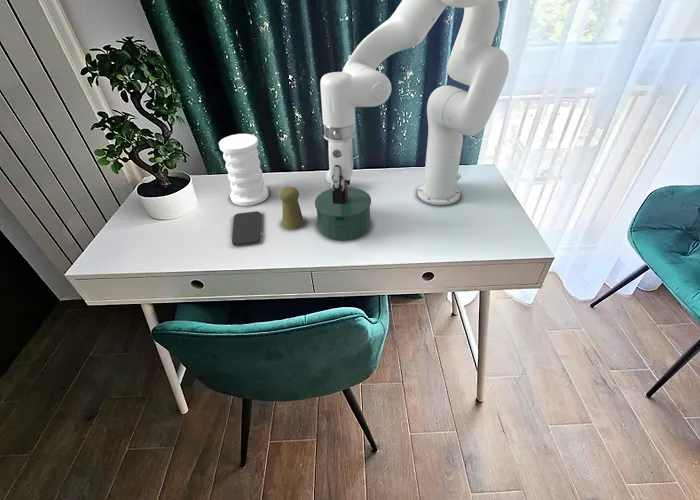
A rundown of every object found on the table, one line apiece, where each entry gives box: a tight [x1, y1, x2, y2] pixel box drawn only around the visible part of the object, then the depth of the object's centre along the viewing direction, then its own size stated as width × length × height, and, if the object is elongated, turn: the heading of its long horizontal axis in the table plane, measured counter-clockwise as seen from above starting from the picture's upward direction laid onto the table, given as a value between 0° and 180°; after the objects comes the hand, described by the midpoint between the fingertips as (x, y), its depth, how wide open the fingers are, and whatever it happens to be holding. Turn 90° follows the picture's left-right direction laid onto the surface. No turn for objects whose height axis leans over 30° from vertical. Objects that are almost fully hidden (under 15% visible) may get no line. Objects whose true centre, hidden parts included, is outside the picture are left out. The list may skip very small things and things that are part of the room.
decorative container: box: [218, 133, 269, 207], centre depth 120 cm, size 12×12×18 cm
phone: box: [231, 210, 261, 247], centre depth 111 cm, size 7×1×15 cm
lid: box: [314, 181, 372, 218], centre depth 105 cm, size 15×15×6 cm
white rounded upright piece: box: [324, 169, 333, 189], centre depth 124 cm, size 10×7×7 cm
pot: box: [316, 185, 371, 242], centre depth 109 cm, size 14×20×8 cm
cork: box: [279, 185, 305, 230], centre depth 109 cm, size 6×6×11 cm
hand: (341, 193), depth 105 cm, fingers open, 9 cm apart
